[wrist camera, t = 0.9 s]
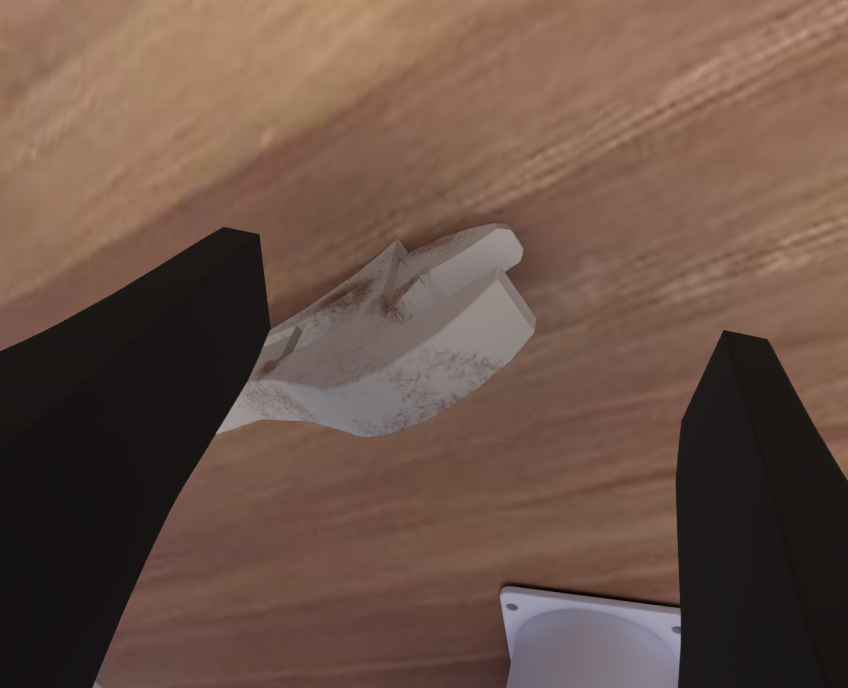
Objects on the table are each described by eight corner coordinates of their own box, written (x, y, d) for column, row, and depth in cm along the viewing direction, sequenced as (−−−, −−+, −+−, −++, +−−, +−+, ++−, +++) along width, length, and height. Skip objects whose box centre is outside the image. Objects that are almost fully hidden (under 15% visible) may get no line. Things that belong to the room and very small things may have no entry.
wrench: (65, 399, 39) (555, 156, 20) (90, 424, 39) (588, 211, 21) (-61, 522, 33) (459, 341, 15) (-28, 548, 34) (509, 408, 15)
